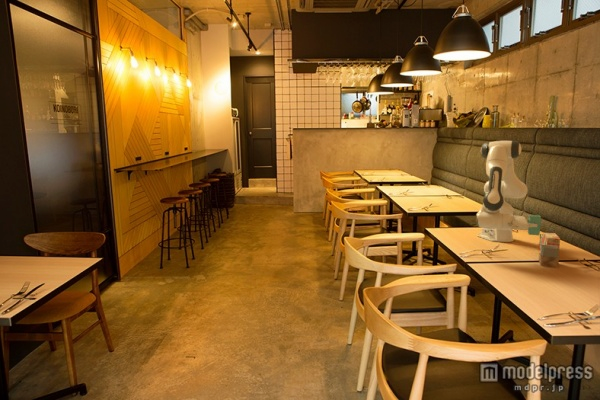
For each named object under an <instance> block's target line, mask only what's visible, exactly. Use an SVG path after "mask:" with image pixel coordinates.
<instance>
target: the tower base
mask: <svg viewBox="0 0 600 400" xmlns="http://www.w3.org/2000/svg"><path fill="white" fill-rule="evenodd" d="M538 253H539V256H538V262H539V266H540V267H547V268H548V267H549V268H550V267H551V268H559V261H560V258H559V257H558V258H550V257H543V256H542V255H541V252H538Z"/></svg>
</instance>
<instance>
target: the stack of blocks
mask: <svg viewBox="0 0 600 400" xmlns="http://www.w3.org/2000/svg"><path fill="white" fill-rule="evenodd" d="M560 243H561V238H560V237H559V236H558V234H557V233H555V232H543V234H542V233H541V234H540V235H539V243H538V244H539V247H538V248H539V250H540V252H541V244H542V245H555V246H557V247H558V248H559V249H560ZM558 257H559V254H558Z"/></svg>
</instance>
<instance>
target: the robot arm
mask: <svg viewBox="0 0 600 400" xmlns="http://www.w3.org/2000/svg"><path fill="white" fill-rule="evenodd" d="M521 153H522V145H521V143H520V142H519V141H518V140H496V141H486V142H484V143H482V145H481V148H480V154H481V157H482V158H483V159H484V160H485V159H486V160H485V161H486V162H485V172H486V175H487V177H488V178H489V179H488V181H486V182H485V184H484V186H483V191H484V193H485V195H484V196H483V200H482V202H483V203H482V205H481V208H480V209H479V211H478V212H477V213H476V214H475V221H476V222H475V223H476V225H477V227H479V228H481V232H480V233H478V234H477V237H479V238H482V239H485V240H487V241H490V242H500V243H501V242H502V243H511V242H514V236H513V230H519V231H528V228H529V227H537V224H536V223H529V219H527V218H526V217H525V216H522V215H516V214H514V207H513V206H512V205H511V204H510V203H508V202H507V201H506V200H505V199H516V200H517V199H524V198H525V197H526V196H527V194H528V185H527V184H525V183H524V182H523V181H522V180H520V179H519V178H518V176H517V175H516V172H515V165H514V164H515V163H514V159H516V158H519V157H520V155H521Z"/></svg>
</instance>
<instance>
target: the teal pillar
mask: <svg viewBox="0 0 600 400" xmlns="http://www.w3.org/2000/svg"><path fill="white" fill-rule="evenodd" d="M528 220H529V223H536V224H537V227H529V228H528V230H527V234H528V235H529V236H540V233H541V232H540V231H541V224H542V223H541V222H542V216H541V215H540V214H529V215H528Z"/></svg>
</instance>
